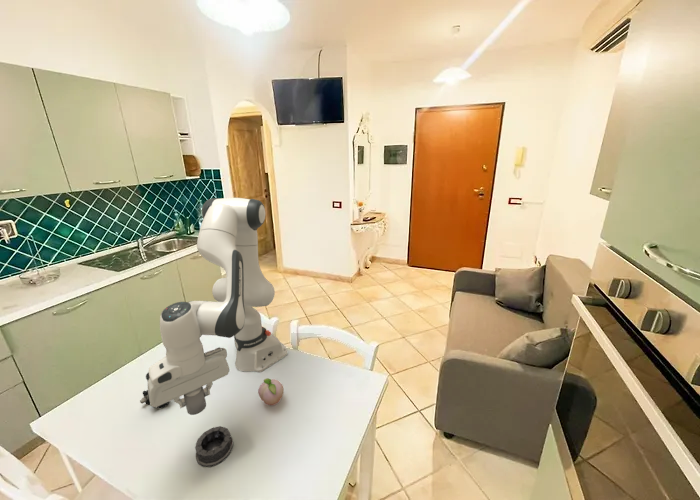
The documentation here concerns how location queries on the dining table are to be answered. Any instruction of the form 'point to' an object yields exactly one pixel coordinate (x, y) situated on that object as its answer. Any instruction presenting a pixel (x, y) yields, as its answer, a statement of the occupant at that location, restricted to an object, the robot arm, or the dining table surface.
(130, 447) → the dining table surface
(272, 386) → the decorative fruit
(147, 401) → the scope
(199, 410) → the grey cylinder
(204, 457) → the faceted grey ring
